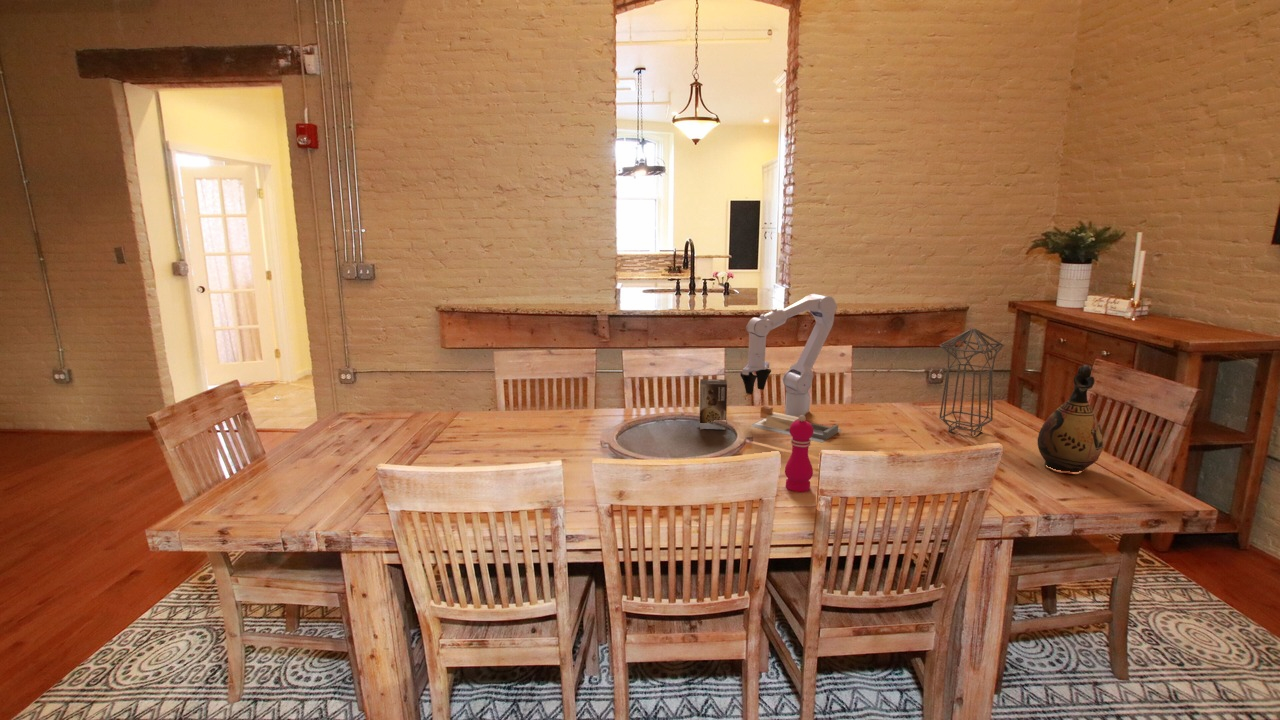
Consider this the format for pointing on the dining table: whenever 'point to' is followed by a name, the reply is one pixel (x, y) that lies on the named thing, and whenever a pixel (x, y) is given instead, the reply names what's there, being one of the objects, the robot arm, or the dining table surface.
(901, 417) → the dining table surface
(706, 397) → the cookie box
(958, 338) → the geometric lantern
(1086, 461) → the ceramic jug
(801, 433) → the pepper mill
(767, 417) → the birch block
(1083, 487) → the dining table surface
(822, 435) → the lane board
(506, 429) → the dining table surface
